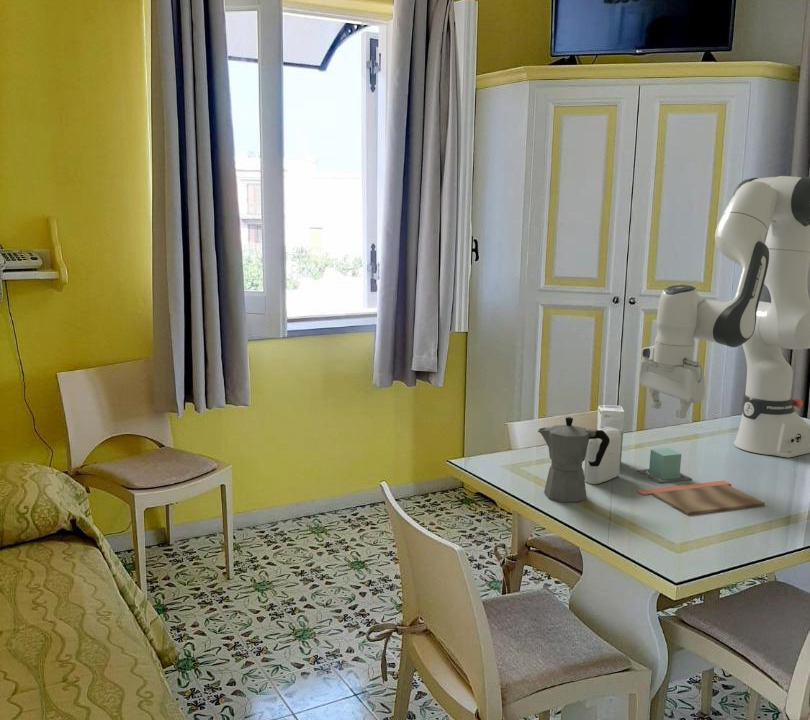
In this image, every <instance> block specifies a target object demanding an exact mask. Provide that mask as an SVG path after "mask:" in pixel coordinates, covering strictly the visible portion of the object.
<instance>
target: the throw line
mask: <svg viewBox="0 0 810 720" xmlns="http://www.w3.org/2000/svg"><path fill="white" fill-rule="evenodd" d="M718 485H729V486H731V485H732V483H730V482H729V481H726V480H718V481H708V482H707V481H706V482H698V483H692V484H691V483H690V484H681V485H673V486H663V487H654V488H645V489H638V490H636V492H637V493H638V494H640V495H642V496H648V494H650V495H653V493H658V492H667V491H675V490H684V489H693V488H701V487H710V486H718Z"/></svg>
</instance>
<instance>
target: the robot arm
mask: <svg viewBox="0 0 810 720" xmlns="http://www.w3.org/2000/svg"><path fill="white" fill-rule="evenodd" d="M714 241H715V245H716V247H717V248H718V251H720V253H722V255H724V256H725V257H726V258H728V259H729V261H732V262H734V263H736V264H738V265H739V266H741V274H740V277H739V281H738V285H737V289H736V292H735V295H734V298H733V299H731V300H729V301H722V300H721V301H720V300H715V299H714V300H712V299H708V298H705V297H704V296H702V295H700V294H699V293H698V291H697V287H695V286H692V285H688V284H677V285H675V284H674V285H671V286H667V287H666V288H664V289H663V290H662V292H661V295H660V297H659V302H658V307H657V314H656V329H657V330H656V331H657V332H656V336H655V339H654V345H651V346H647V347H642V348H641V350H640V357H641V360H640V365H639V373H638V375H639V376H638V380H639V383H640V384H639V385H640V386H641V387H645V388H648V389H649V390H648V391H649V397H650V399H651V406H650V407H651V408H653V409H657V410H658V409H661V408H662V400H660V393H662V394H664V395H667V396H670V397H672V398H676V399H678V400H679V405H680V406H679V408H678V409H675V410H676V411H675V413H676V414H675V417H676V418H678V419H686V418H687V413H688V412H687V411H689V409H690V408H691V406H692V404H694V403H695V404H697V403H702V401H704V399H705V391H706V390H705V389H706V387H705V385H706V383H705V380H706V379H705V373H704V369H703V367H702V366H701V364H700V362H699V361H696V360H695V361H694V353H695V339H696V340H701V341H705V342H711V343H715V344H720V345H723V346H726V347H730V348H737V347H740V346H742V348H743V353H744V357H745V361H746V379H745V380H746V382H745V391H744V392H745V393H743V396H742V405H741V406H742V413H741V417H740V418H741V419H740V422H739V427H738V430H737V433H736V436H735V439H734V442H733V445H734V446H735V447H737V448H738V449H740V450H743V451H746V452H750V453H755V454H760V455H768V456H769V455H770V456H777V457H782V458H792V457H798V456H801V455H802V456H803V455H806V454H810V424H809V423H808V422H807V421H806V420H804V419H803V418H802V417H801V416H800V415H799V414H798V413H797V412H795V410H796V409H795V407H796V408H802V407H803V406H804V401H803V400H801V399H798V398H794V399H793V398H792V397H791V396H792V389H793V388H792V387H793V378H794V370H793V368H792V366H791V364H790V363H789V362H788V361H787V360H786V359H785V357H784V355H783V352H782V349H781V348H783V349H788V350H808V349H809V350H810V296H809V291H808V274H809V268H810V267H809V266H810V177H809V176H804V177H801V176H800V177H799V176H791V175H779V176H778V175H777V176H770V177H769V176H767V177H760V178H759V177H752V178H746V179H745V180H742V181H741V182H740V183H739V184H738V185H737V187H736V188H734V192H733V194H732V197H731V199H730V200H729V202H728V204H727V205H726V208H725V210H724V211H723V213H722V215H721V217H720V219H719V221H718V223H717V226H716V229H715V232H714ZM764 285H765V287H766V288H767V290H768V292H769V295H770V302H768V301H767V302H766V301H761V296H762V292H763V288H764Z"/></svg>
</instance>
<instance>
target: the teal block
mask: <svg viewBox="0 0 810 720" xmlns="http://www.w3.org/2000/svg"><path fill="white" fill-rule="evenodd" d="M649 456H650V457H649V466H648V467H649V468H648V469H649V472H648V474H649V473H650V475H651V474H652V476H653V475H654V477H655V476H656V477H655V478H657V477H658V478H657V479H659V478H660V479H659V480H668V479H677V478H681V476H680V473H681V464H682V463H681V462H682V453H680V452H678V451H675V450H673V449H672V448H669V447H664V448H656V449H655V448H654V449H650V455H649Z"/></svg>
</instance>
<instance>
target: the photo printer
mask: <svg viewBox="0 0 810 720" xmlns="http://www.w3.org/2000/svg"><path fill="white" fill-rule="evenodd" d="M599 430H602V431H604V432H605V433H606V435H607V436H608V437H609V439H610V442H609V445H608V447H607V449H606V451H605V453H604V456H603V458H602V460H601V462H600V465H599V466H590V464H589V462H594V461H595V460H596V454H597V452H598V451H599V446H600V443H601V442H602V440H601V439H600V438H597V439H589V442H588V446H587V451H586V456H585V460H584V479H585V483H587V482H588V483H587V484H590V483H591V484H590V485H598V484H601V483H604V482H607V481H609V480H612V479H615V478H616V477H619V475H620V469H621V468H620V467H621V466H620V455H621V433H620V432H619V430H617V429H614V428H610V427H606V428H601V429H599ZM621 456H622V455H621Z"/></svg>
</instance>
